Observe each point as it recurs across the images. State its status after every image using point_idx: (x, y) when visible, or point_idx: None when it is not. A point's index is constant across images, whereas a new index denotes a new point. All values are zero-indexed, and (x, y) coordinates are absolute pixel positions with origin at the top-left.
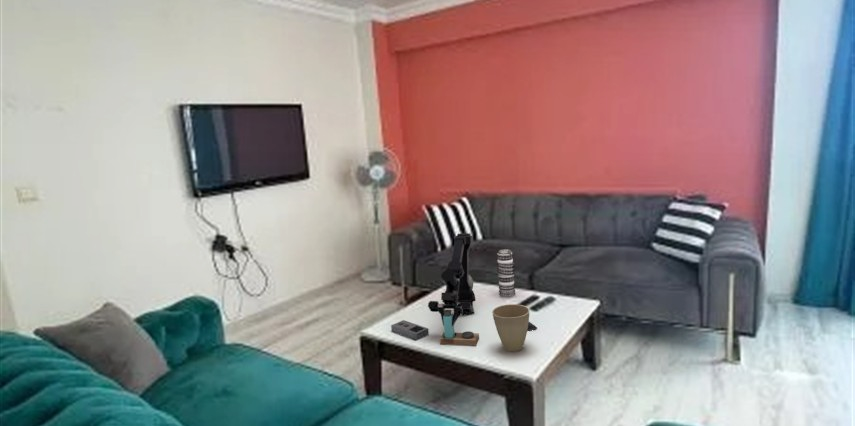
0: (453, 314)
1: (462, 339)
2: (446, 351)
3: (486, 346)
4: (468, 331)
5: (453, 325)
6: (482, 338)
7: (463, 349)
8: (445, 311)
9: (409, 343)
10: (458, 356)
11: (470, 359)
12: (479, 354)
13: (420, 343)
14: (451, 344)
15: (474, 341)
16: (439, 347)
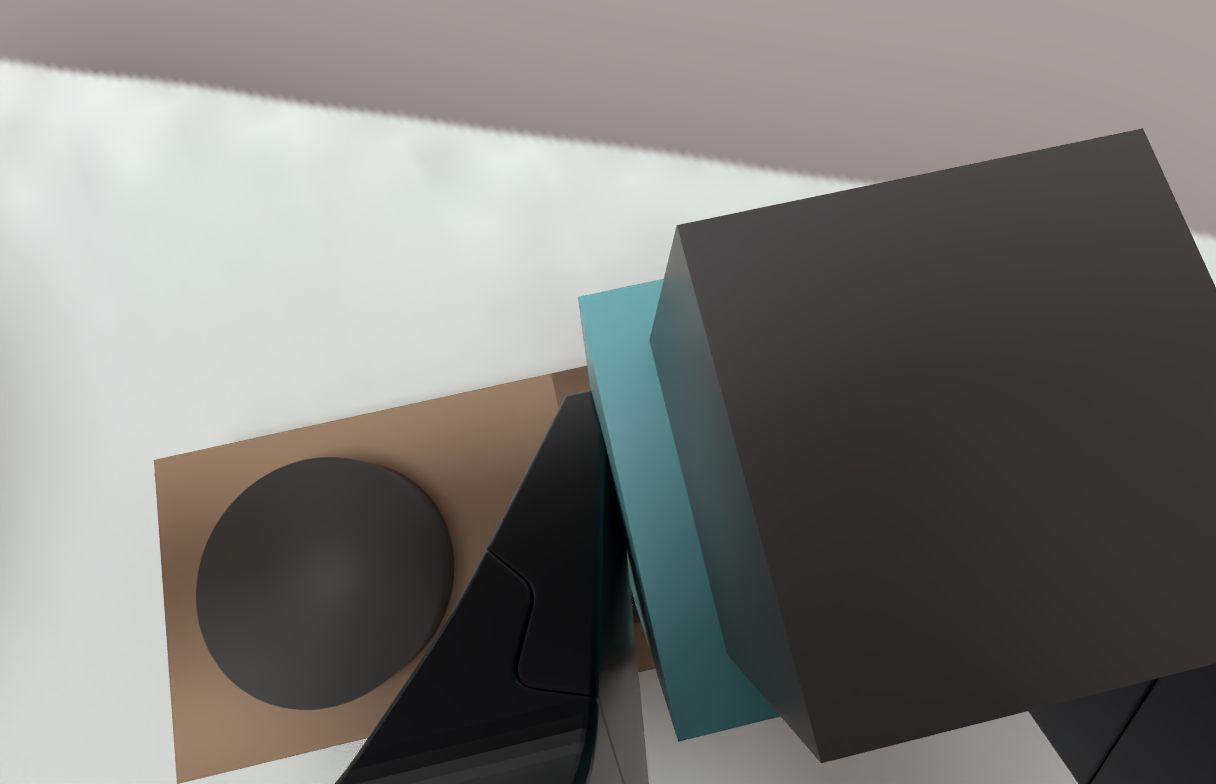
0: (588, 625)
1: (397, 421)
2: (571, 187)
3: (62, 506)
4: (343, 699)
5: (630, 572)
6: (199, 780)
7: (368, 310)
8: (1116, 265)
9: (1203, 240)
10: (359, 115)
11: (183, 93)
12: (104, 244)
13: None
14: None
15: (193, 458)
16: None
